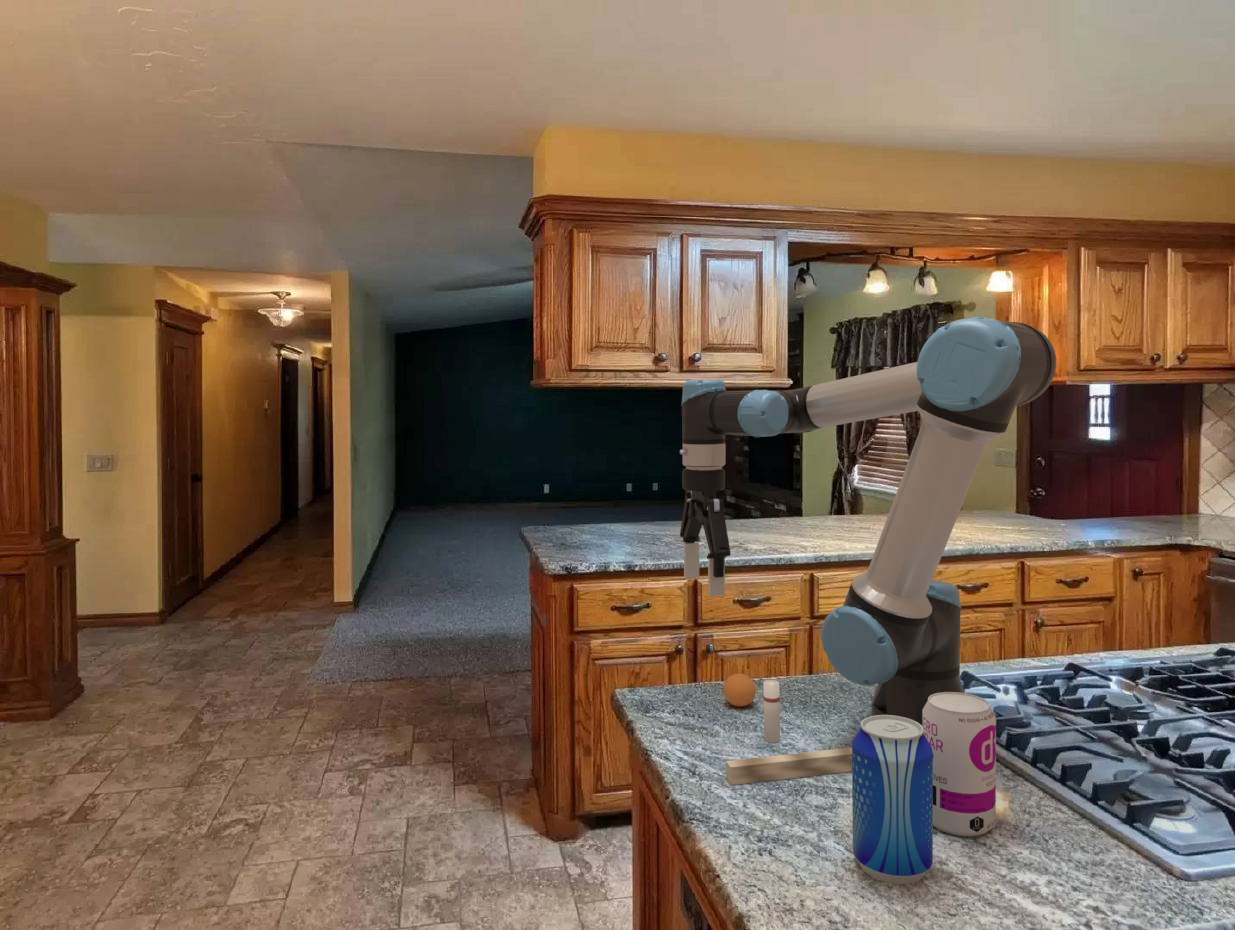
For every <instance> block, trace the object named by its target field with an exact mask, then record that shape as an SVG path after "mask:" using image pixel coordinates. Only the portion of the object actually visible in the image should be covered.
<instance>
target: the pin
mask: <svg viewBox="0 0 1235 930" xmlns="http://www.w3.org/2000/svg"><path fill="white" fill-rule="evenodd" d="M762 685H763V695H762V697H763V698H762V699H763V739H764V742H766V743H771V744H776V743H779V742H780V741H781V713H780V712H781V709H780V707H781V706H780V703H781V702H780V701H781V696H780V695H781V694H780V681H779V680H775V679H766V680H763V684H762Z"/></svg>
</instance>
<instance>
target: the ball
mask: <svg viewBox="0 0 1235 930" xmlns="http://www.w3.org/2000/svg"><path fill="white" fill-rule="evenodd" d="M722 689H723V695H724V697H725V699H726V701H727V702H728V703H730V704H731V705H732V706H735V707H746V706H747V705H749V704H751V703H752V702H753V700H754V699H755V697H756V693H757V691H756V689H757V688H756V685H755V682H754V681H753V679H752V678H751V677H750V676H749V675H747V674H745V673H739V672H738V673H734V674H730V675H729V676H728V677H727V678H726V680H725V681H724V684H723V688H722Z"/></svg>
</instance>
